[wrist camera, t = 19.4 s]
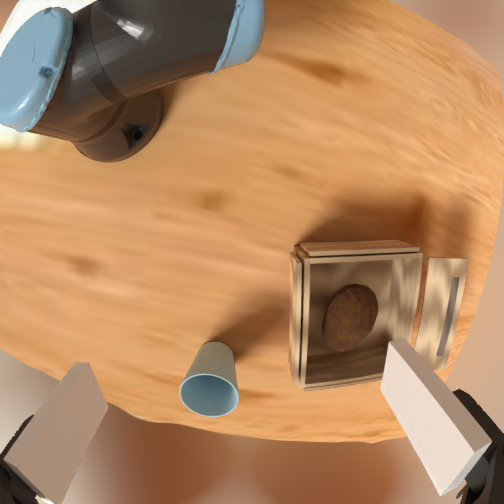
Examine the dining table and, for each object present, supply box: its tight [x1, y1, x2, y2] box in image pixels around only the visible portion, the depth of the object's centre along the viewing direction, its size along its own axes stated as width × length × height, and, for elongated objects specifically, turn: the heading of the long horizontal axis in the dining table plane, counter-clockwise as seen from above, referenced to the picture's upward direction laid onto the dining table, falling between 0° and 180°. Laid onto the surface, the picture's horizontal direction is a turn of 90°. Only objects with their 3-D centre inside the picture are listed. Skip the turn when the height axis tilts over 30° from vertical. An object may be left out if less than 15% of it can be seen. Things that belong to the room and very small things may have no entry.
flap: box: [414, 257, 468, 370], centre depth 32 cm, size 17×1×6 cm
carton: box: [289, 240, 423, 391], centre depth 37 cm, size 20×17×8 cm
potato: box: [322, 284, 379, 352], centre depth 37 cm, size 7×10×8 cm
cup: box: [179, 341, 239, 417], centre depth 38 cm, size 8×8×10 cm
